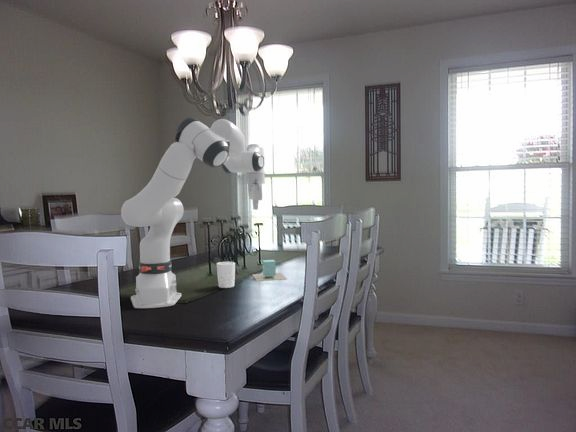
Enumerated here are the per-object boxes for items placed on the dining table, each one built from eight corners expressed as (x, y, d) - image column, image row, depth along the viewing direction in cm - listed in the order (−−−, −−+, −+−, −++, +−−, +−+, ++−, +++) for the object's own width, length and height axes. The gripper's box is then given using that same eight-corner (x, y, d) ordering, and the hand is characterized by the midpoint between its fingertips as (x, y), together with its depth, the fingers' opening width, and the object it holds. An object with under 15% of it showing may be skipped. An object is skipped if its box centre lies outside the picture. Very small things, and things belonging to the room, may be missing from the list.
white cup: (232, 288, 192) (231, 265, 191) (214, 288, 193) (213, 264, 193) (238, 284, 199) (237, 261, 199) (220, 284, 201) (220, 261, 200)
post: (287, 279, 209) (286, 263, 209) (256, 281, 206) (256, 265, 206) (280, 273, 223) (280, 259, 222) (252, 275, 220) (251, 260, 219)
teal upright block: (275, 275, 212) (275, 261, 212) (264, 276, 211) (264, 262, 211) (273, 273, 217) (273, 259, 217) (262, 274, 216) (262, 260, 216)
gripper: (265, 179, 205) (265, 210, 206) (258, 179, 225) (259, 208, 226) (251, 179, 204) (251, 210, 205) (246, 180, 224) (246, 208, 225)
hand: (255, 209), depth 216 cm, fingers closed
